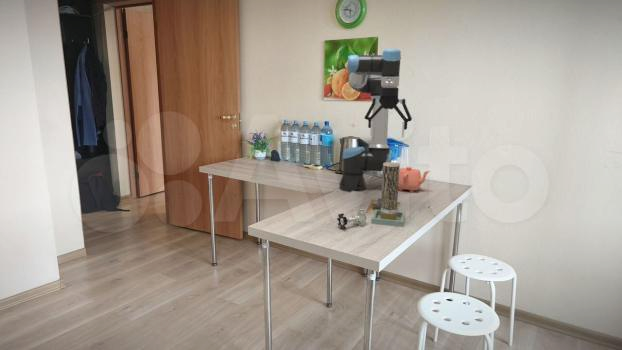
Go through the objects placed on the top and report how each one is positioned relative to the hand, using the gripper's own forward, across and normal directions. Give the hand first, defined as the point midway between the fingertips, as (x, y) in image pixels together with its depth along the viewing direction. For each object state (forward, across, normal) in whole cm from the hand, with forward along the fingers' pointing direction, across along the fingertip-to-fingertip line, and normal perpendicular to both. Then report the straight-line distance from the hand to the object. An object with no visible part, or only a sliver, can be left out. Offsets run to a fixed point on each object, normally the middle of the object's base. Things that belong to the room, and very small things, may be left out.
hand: (386, 136), depth 177 cm
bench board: (+36, 0, +6) cm, 36 cm away
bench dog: (+35, 0, -2) cm, 35 cm away
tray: (+35, +4, -12) cm, 38 cm away
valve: (+35, -10, -23) cm, 43 cm away
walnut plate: (+35, 0, +4) cm, 35 cm away
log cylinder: (+35, +4, -12) cm, 37 cm away
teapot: (+37, +10, +46) cm, 60 cm away
